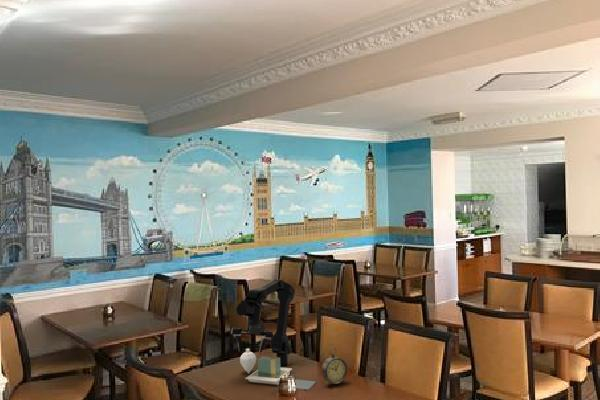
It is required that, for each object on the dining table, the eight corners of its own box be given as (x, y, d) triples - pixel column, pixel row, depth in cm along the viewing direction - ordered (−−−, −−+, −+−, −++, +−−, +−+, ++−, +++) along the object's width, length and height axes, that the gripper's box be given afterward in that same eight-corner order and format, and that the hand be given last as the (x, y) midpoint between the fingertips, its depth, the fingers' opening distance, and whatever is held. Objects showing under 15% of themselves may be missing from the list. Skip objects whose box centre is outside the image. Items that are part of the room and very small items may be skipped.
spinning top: (237, 375, 234) (236, 349, 234) (249, 370, 239) (248, 345, 239) (247, 378, 228) (247, 352, 229) (260, 374, 234) (259, 348, 234)
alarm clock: (326, 389, 211) (325, 350, 212) (320, 385, 216) (319, 347, 216) (348, 384, 216) (347, 346, 217) (341, 380, 221) (340, 343, 221)
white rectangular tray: (263, 372, 236) (263, 365, 237) (292, 374, 231) (292, 368, 231) (245, 385, 220) (245, 378, 220) (276, 388, 214) (276, 381, 214)
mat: (295, 380, 223) (295, 379, 223) (316, 382, 219) (316, 381, 219) (286, 388, 214) (286, 387, 214) (308, 390, 210) (308, 389, 210)
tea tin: (263, 375, 229) (262, 356, 230) (280, 377, 226) (280, 357, 226) (258, 379, 225) (257, 359, 225) (276, 381, 221) (275, 360, 222)
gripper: (236, 315, 218) (231, 352, 214) (277, 319, 222) (273, 355, 219) (232, 315, 228) (228, 350, 225) (272, 319, 233) (268, 353, 229)
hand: (249, 352), depth 224 cm, fingers open, 9 cm apart
